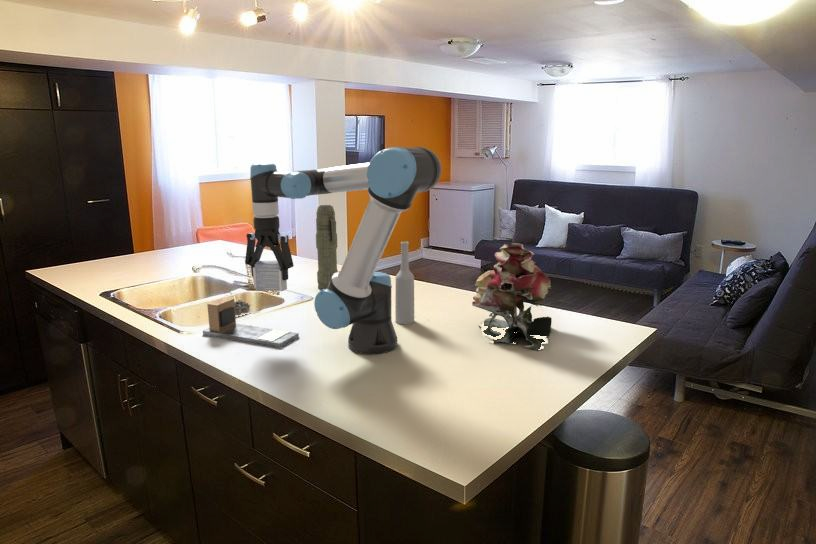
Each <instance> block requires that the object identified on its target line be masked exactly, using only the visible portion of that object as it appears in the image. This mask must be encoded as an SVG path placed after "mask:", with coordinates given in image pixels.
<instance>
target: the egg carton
mask: <svg viewBox="0 0 816 544" xmlns="http://www.w3.org/2000/svg"><path fill="white" fill-rule="evenodd" d="M234 305H235V316H240V315H242V314H245V313H246V314H247V313H250V307H251V306H252V304H249V303H248V302H246V301H242V299H238V300H236V301H234Z"/></svg>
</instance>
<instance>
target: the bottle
mask: <svg viewBox="0 0 816 544" xmlns="http://www.w3.org/2000/svg"><path fill="white" fill-rule="evenodd" d="M400 244H401V245H400V252H401V253H400V270H399V271H398V273H397V274H396V275H395V292H394V293H395V295H394V296H395V297H394V298H395V307H394V308H395V313H394V314H395V315H394V316H395V323H396V324H399V325H404V324H405V325H411V323H412V324H413V323H415V276H414V274H413V273H412V272H411V270H410V264H409V263H410V262H409V244H410V243H409V241H401V242H400Z"/></svg>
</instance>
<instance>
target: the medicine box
mask: <svg viewBox="0 0 816 544" xmlns="http://www.w3.org/2000/svg"><path fill="white" fill-rule="evenodd" d="M280 269H281V268H280V266H279V264H278V262H277V260H259V261H258V262H256V263H255V275H256V288H255V289H256V291H257V292H259V291H260V292H261V291H262V292H263V291H264V292H266V291H268V292H269V291H280V286H279V270H280Z"/></svg>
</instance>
